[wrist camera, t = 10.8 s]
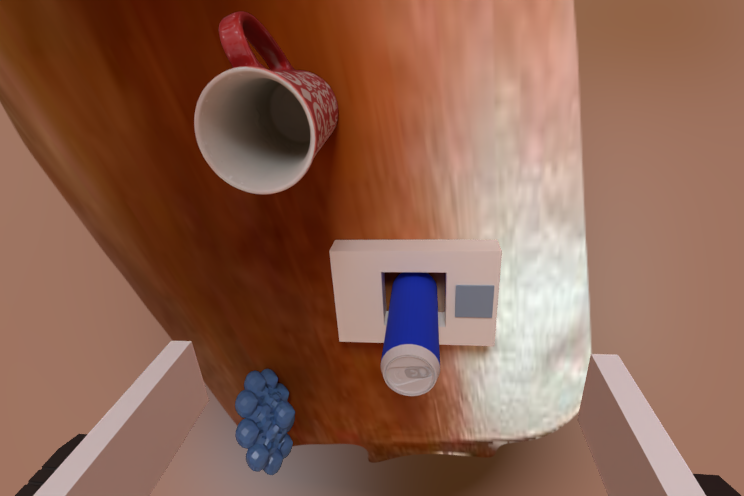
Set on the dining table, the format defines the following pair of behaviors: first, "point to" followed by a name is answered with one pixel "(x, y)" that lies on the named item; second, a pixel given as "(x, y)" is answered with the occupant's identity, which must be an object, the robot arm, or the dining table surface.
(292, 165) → the mug
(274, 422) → the grapes
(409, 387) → the beverage can
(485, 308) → the socket board
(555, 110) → the dining table surface
